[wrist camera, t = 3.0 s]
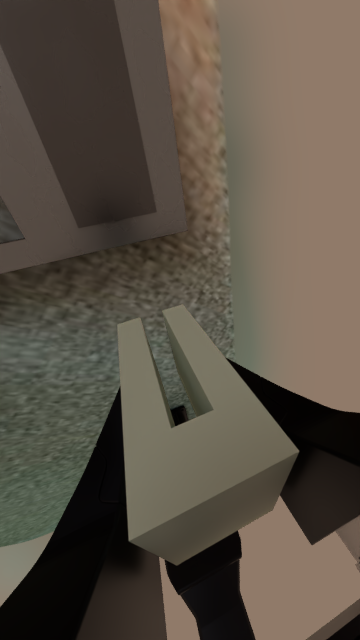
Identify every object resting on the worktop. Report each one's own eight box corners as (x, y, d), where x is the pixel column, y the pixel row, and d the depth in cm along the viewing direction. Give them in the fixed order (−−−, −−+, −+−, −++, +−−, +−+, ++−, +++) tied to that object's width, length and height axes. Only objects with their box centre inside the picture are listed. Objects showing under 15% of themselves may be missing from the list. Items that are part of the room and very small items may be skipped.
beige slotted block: (193, 364, 13) (272, 509, 6) (142, 383, 12) (176, 565, 6) (182, 304, 10) (299, 451, 4) (117, 324, 9) (128, 541, 3)
